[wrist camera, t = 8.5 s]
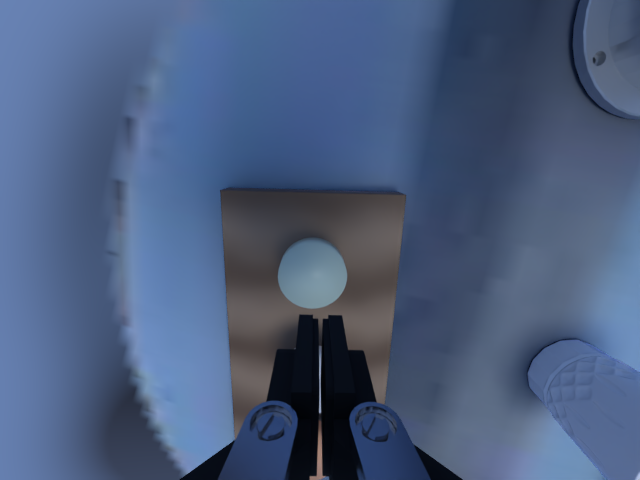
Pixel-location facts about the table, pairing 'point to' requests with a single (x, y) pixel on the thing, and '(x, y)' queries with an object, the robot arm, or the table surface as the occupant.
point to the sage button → (312, 273)
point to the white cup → (592, 403)
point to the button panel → (271, 304)
